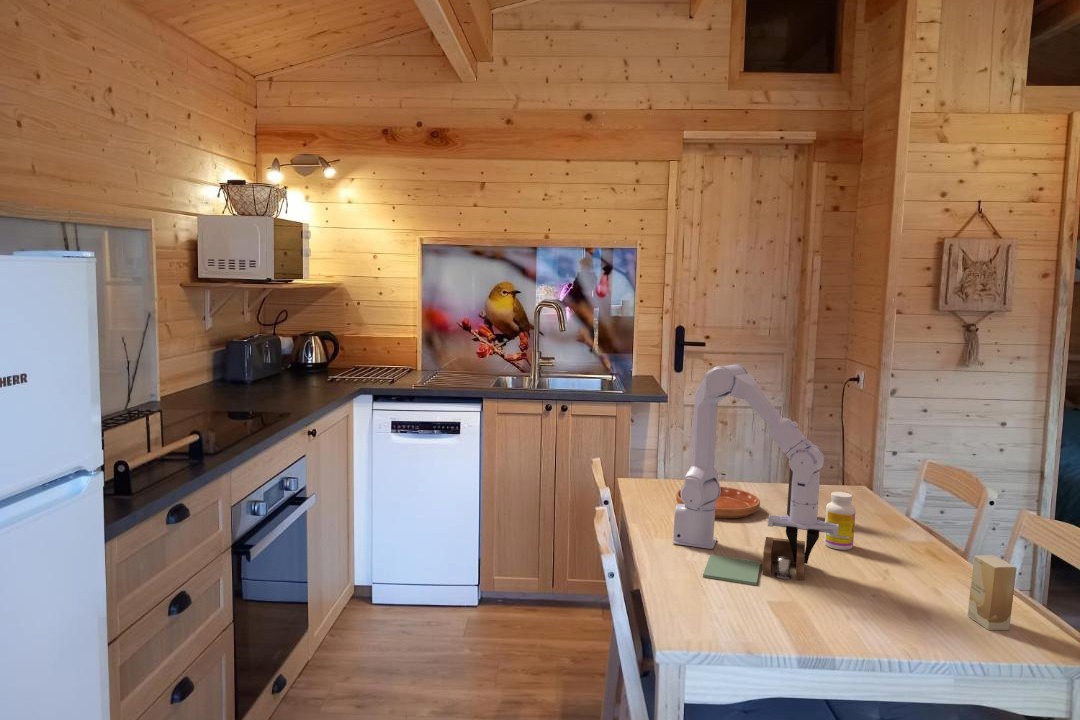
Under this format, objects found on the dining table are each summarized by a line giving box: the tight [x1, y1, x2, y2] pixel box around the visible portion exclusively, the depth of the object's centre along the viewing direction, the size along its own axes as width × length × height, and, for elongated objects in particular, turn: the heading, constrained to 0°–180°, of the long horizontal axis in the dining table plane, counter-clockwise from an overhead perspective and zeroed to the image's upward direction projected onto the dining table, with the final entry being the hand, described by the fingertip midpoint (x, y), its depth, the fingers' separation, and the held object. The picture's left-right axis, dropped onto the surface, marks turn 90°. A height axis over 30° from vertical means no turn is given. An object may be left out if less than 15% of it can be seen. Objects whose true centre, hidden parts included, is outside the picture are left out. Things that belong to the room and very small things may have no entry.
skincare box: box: [967, 554, 1017, 631], centre depth 140 cm, size 6×4×12 cm
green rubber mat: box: [702, 554, 761, 586], centre depth 163 cm, size 11×13×1 cm
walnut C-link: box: [762, 536, 806, 581], centre depth 165 cm, size 8×11×5 cm
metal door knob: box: [774, 556, 792, 581], centre depth 160 cm, size 3×3×4 cm
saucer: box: [675, 485, 761, 519], centre depth 210 cm, size 23×23×4 cm
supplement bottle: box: [823, 491, 856, 551], centre depth 181 cm, size 7×7×13 cm
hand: (800, 561), depth 165 cm, fingers closed on walnut C-link
